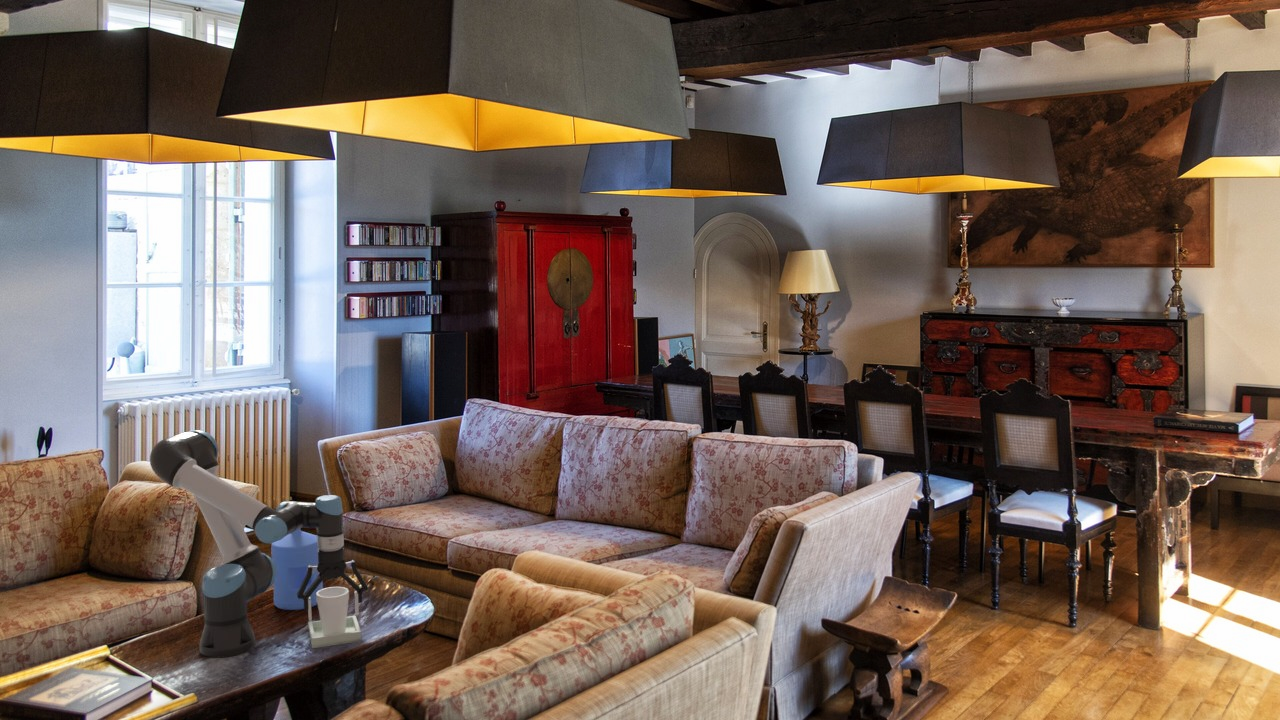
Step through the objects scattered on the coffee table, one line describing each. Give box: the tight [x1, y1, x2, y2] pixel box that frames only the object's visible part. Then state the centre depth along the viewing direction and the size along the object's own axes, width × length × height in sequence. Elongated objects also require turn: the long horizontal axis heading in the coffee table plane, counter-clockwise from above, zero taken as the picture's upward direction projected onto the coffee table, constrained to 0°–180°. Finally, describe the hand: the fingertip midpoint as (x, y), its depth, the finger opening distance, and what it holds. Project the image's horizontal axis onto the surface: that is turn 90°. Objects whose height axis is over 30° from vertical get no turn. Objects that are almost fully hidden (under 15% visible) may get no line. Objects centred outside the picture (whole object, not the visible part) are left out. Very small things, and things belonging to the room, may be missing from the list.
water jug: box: [270, 528, 324, 611], centre depth 346 cm, size 16×16×28 cm
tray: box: [307, 615, 362, 649], centre depth 319 cm, size 14×14×3 cm
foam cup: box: [316, 586, 350, 636], centre depth 318 cm, size 10×9×13 cm
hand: (333, 616), depth 318 cm, fingers open, 13 cm apart
